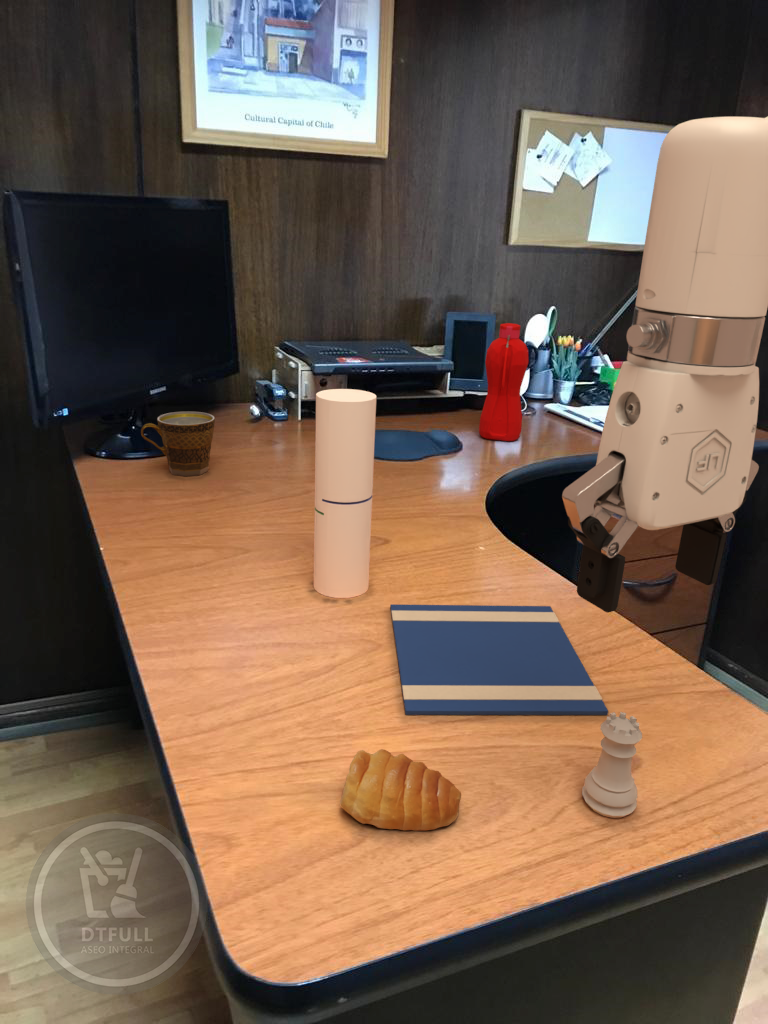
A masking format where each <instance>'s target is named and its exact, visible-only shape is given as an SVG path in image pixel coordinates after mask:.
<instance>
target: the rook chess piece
mask: <svg viewBox="0 0 768 1024" xmlns="http://www.w3.org/2000/svg"><path fill="white" fill-rule="evenodd" d="M608 715H609V716H608ZM608 715H606V719H605V720H604V721H602V723H600V728H599V729H600V731H601V733H602V735H603V738H602V739H601V740H600V747H601V753H600V755H599V758H598V761H597V764H596V765H595V766H594V767H593V768H592V769H591V771H590V772H589V773H588V774H587V775H586V776H585V778H584V784H583V786H582V790H581V795H582V797H583V799H584V801H585V803H586V804H587V806H588V807H589V808H590V809H591V810H592V811H594V813H597V814H599V815H601V816H603V817H607V818H611V819H618V818H619V819H621V818H625V817H626V816H628V815H630V814H632V813H634V811H635V810H636V808H637V805H638V800H637V799H638V786H637V784H636V783H635V778H634V777H633V773H632V767H633V766H632V763H633V757H634V756H635V755H636V754H637V747H636V746H635V745H637V744H638V743H640V742H641V740H642V739H643V733H642V731H641V729H640V722H637V720H638V719H637V718H636V717H635V716H633V715H630V716H629V718H627V712H624V711H623V712H622V711H620V712H619V716H617V713H616V712H615V711H613V712H610V713H609V714H608Z"/></svg>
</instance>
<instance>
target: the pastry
mask: <svg viewBox="0 0 768 1024" xmlns="http://www.w3.org/2000/svg"><path fill="white" fill-rule="evenodd" d="M348 768H349V769H348V774H347V775H346V780H345V783H344V787H343V791H342V794H341V795H342V796H341V799H340V801H339V804H340V807H341V808H342V810H344V811H345V812H346V813H347V814H348V815H350V816H351V817H352V818H353V819H355V820H356V821H357V822H359V823H361V824H362V825H364V824H368V825H373V826H375V827H376V828H378V829H385V830H386V829H387V830H401V831H404V832H406V831H413V832H416V831H430V830H436V829H439V828H443V827H449V826H450V825H451V824H452V823H454V822H455V821H456V820H457V818H458V814H459V811H460V804H461V799H462V792H461V791H460V789H459V788H457V787H456V785H455V784H454V783H453V782H452V781H451V780H450V779H448V778H446V777H445V776H443V775H442V773H441V772H440V771H439V770H434V769H430V768H429V767H428V766H427V765H426V764H425V763H424V762H423V761H414V760H413V759H411V758H410V757H408V756H407V755H405V754H404V753H399V754H396V755H393V754H392V753H391V752H389V750H386V749H383V748H381V749H379V750H377V751H376V752H374V753H369V752H367V751H365V750H363V749H360V750H358V751H357V752H356V754H355V755H354V757H352V760H351V762H350V764H349V767H348Z"/></svg>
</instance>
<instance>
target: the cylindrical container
mask: <svg viewBox="0 0 768 1024" xmlns="http://www.w3.org/2000/svg"><path fill="white" fill-rule="evenodd" d="M376 414H377V395H376V394H375V393H373V392H370V391H368V390H367V391H366V390H362V389H355V388H354V389H352V388H332V389H323V390H320V391H318V392H316V393H315V440H314V441H315V445H314V450H315V451H314V453H315V454H314V517H313V518H314V520H313V521H314V522H313V523H314V524H313V525H314V527H313V528H314V529H313V531H314V533H313V539H314V540H313V588H314V590H315V592H317V593H318V594H320V595H322V596H325V597H329V598H335V599H349V598H350V599H351V598H355V597H356V598H357V597H358V596H362V595H364V594H365V593H366V592H367V591H368V590H369V585H370V564H371V563H370V562H371V561H370V560H371V537H372V536H371V535H372V533H371V532H372V514H373V493H374V492H373V491H374V490H373V489H374V467H375V466H374V465H375V464H374V463H375V444H376V443H375V439H376V419H377V418H376Z"/></svg>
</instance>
